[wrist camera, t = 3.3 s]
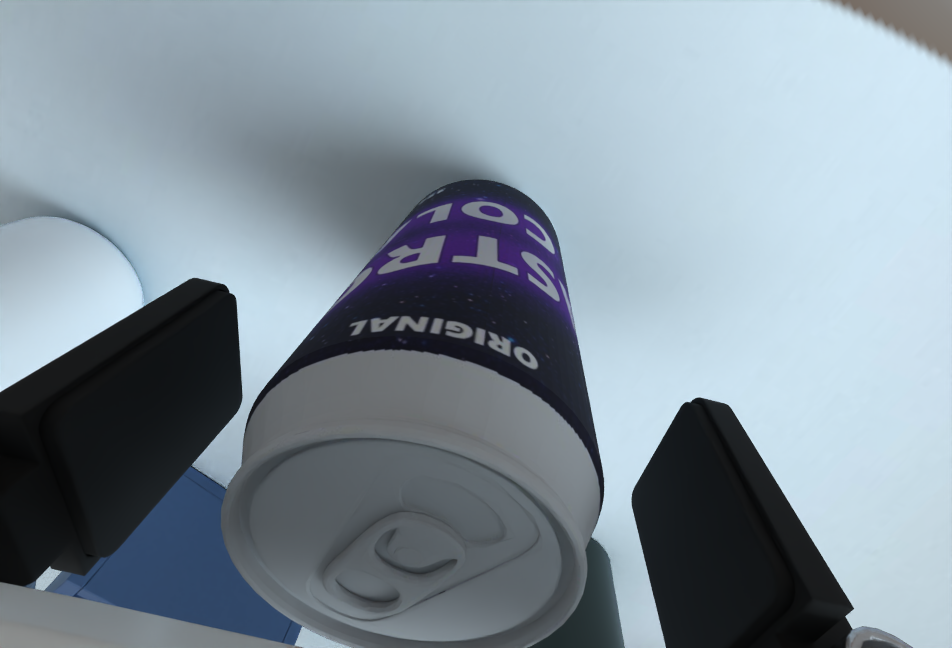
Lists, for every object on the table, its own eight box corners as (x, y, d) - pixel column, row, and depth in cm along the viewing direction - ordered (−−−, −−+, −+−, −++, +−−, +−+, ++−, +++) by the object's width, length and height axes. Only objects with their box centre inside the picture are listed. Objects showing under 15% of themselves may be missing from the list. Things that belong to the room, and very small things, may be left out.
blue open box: (99, 530, 28) (-12, 650, 22) (177, 457, 24) (65, 580, 18) (240, 610, 31) (174, 733, 25) (330, 558, 27) (276, 690, 21)
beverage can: (592, 244, 16) (721, 576, 5) (491, 346, 18) (445, 709, 8) (465, 136, 14) (308, 299, 4) (375, 262, 17) (135, 564, 7)
